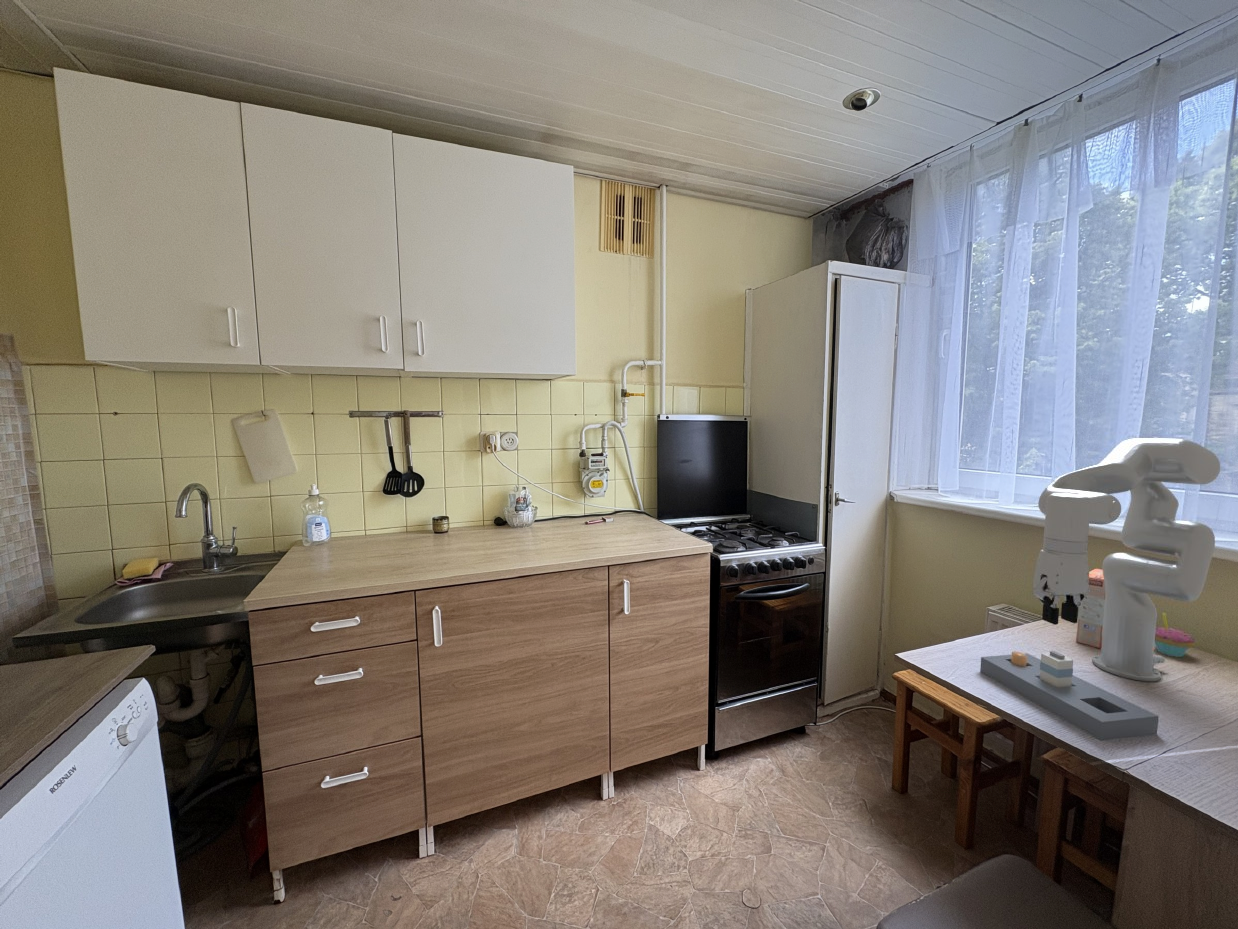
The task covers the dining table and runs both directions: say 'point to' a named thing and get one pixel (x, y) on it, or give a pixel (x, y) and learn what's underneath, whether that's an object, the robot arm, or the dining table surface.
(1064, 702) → the panel
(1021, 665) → the brown egg
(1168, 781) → the dining table surface
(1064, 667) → the plug
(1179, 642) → the cupcake
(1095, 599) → the cracker box
